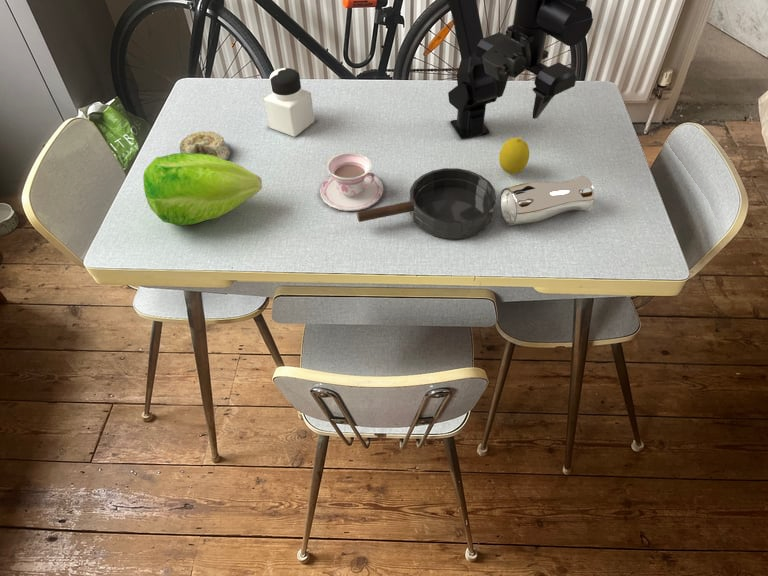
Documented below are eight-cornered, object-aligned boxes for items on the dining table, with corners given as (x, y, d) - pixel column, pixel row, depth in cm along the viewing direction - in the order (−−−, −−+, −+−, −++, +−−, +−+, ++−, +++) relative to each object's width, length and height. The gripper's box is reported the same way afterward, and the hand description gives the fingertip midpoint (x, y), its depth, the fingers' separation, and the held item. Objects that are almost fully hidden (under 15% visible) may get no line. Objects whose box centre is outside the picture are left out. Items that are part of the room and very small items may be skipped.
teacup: (309, 203, 107) (305, 176, 102) (336, 166, 114) (333, 140, 109) (368, 218, 104) (367, 191, 99) (392, 179, 111) (392, 152, 106)
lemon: (525, 183, 109) (532, 148, 103) (495, 180, 110) (501, 145, 104) (526, 166, 113) (533, 131, 107) (497, 163, 114) (503, 128, 108)
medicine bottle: (315, 121, 125) (308, 69, 116) (295, 137, 121) (286, 85, 112) (289, 112, 128) (281, 61, 119) (269, 128, 124) (258, 76, 115)
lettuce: (265, 235, 101) (252, 180, 92) (149, 244, 100) (125, 190, 91) (267, 186, 111) (256, 132, 102) (162, 194, 109) (140, 141, 100)
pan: (399, 194, 108) (399, 176, 105) (474, 179, 111) (476, 161, 108) (425, 248, 98) (425, 230, 95) (507, 230, 101) (510, 212, 98)
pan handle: (356, 217, 100) (356, 209, 99) (411, 206, 102) (411, 198, 101) (359, 224, 99) (358, 216, 98) (414, 212, 101) (414, 205, 100)
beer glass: (587, 166, 100) (508, 179, 97) (601, 201, 98) (521, 216, 95) (569, 184, 107) (495, 197, 104) (582, 218, 105) (507, 232, 102)
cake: (179, 150, 120) (172, 126, 116) (227, 141, 122) (221, 117, 118) (182, 174, 113) (174, 150, 109) (233, 164, 115) (227, 140, 111)
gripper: (456, 15, 96) (450, 100, 107) (538, 57, 85) (521, 146, 97) (505, -3, 100) (494, 81, 111) (588, 36, 90) (567, 123, 101)
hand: (516, 107), depth 105 cm, fingers open, 9 cm apart
